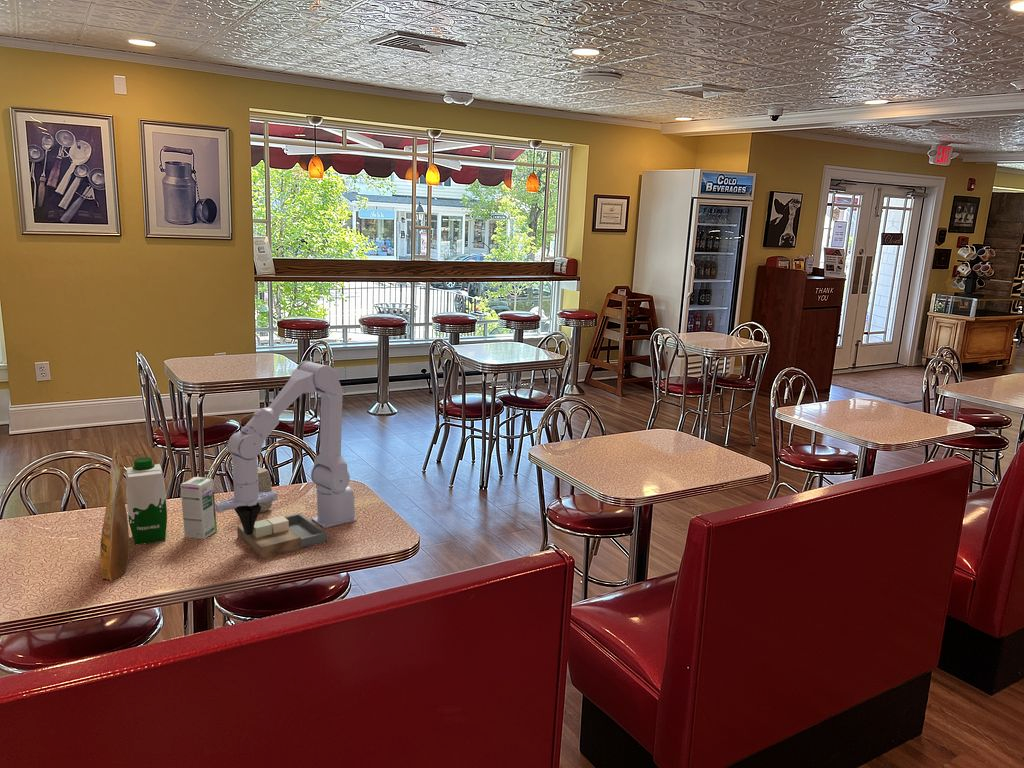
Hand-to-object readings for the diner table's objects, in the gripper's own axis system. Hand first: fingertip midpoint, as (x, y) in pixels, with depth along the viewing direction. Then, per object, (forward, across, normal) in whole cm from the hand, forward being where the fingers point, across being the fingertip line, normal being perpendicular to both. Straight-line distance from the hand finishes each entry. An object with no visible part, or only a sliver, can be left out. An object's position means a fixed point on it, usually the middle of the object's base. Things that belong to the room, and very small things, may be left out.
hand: (248, 533), depth 190 cm
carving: (+4, +11, +22) cm, 25 cm away
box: (+4, +14, 0) cm, 14 cm away
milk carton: (+4, -18, +20) cm, 27 cm away
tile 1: (+1, +3, 0) cm, 3 cm away
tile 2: (+1, +8, 0) cm, 8 cm away
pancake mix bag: (+4, -28, +7) cm, 29 cm away
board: (+4, +5, 0) cm, 6 cm away
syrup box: (+4, -7, +15) cm, 17 cm away
